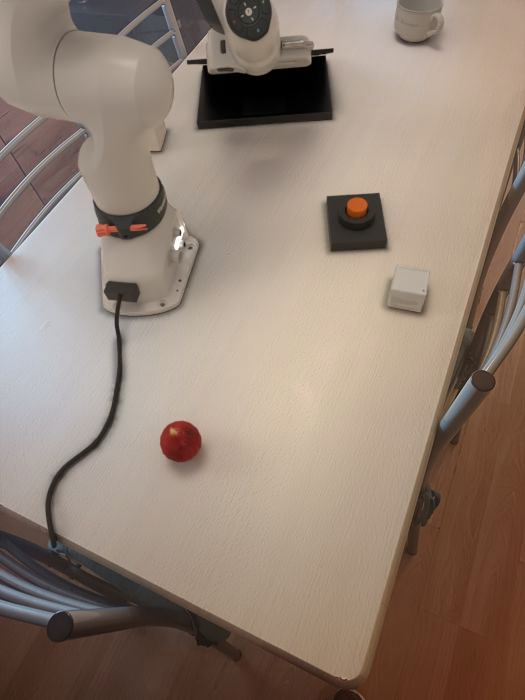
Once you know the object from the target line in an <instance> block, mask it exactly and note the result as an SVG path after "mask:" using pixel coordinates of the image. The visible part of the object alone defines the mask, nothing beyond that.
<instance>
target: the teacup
mask: <svg viewBox="0 0 525 700" xmlns="http://www.w3.org/2000/svg"><path fill="white" fill-rule="evenodd" d="M444 5H445V1H444V0H396V8H395V15H394V20H393V21H394V22H393V23H394V24H393V25H394V31H395V32H396V34H397V35H398V36H399V38H401V40H404V41H406V42H410V43H419V42H423V41H425V40H427V39H428V38H431V37H432V36H433V35H437V34H439V33H440V32H441V31H442V30H443V28H444V25H445V18H444V15H443V14H442V10H443V7H444Z"/></svg>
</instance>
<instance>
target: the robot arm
mask: <svg viewBox="0 0 525 700" xmlns="http://www.w3.org/2000/svg"><path fill="white" fill-rule="evenodd" d="M71 1H72V0H0V98H1V99H2V101H4V102H5V103H6V104H8V105H10V106H11V107H14V108H16V109H18V110H21V111H23V112H27V113H28V114H31V115H33V116H36V117H38V118H43V119H50V120H56V121H63V122H69V123H75V124H79V125H82V126H83V127H85V128H86V130H88V132H89V133H90V136H88V137H87V138H86V139H85V141H83V143H82V145H81V146H80V148H79V152H78V157H77V167H78V168H77V169H78V171H79V173H80V175H81V177H82V179H83V181H84V183H85V185H86V187H87V190H88V192H89V193H90V195H91V197H92V204H93V210H94V214H95V217H96V218H97V222H98V223H97V224H96V225H95V228H94V229H95V230H94V231H95V234H96V236H97V237H98V238H99V239H100V269H101V273H100V274H101V294H102V296H101V297H102V306H103V308H104V310H106V311H108V312H110V313H111V314H114V330H115V334H116V349H117V350H116V351H117V352H116V353H117V367H116V377H115V383H114V384H115V385H114V389H113V396H112V402H111V405H110V410H109V413H108V416H107V419H106V421H105V422H104V424H103V427H102V429H101V430H100V431H99V433H98V435H97V437H96V438H95V439H94V440H93V441H92V442H91V443H90V444H89V445H88V446H86V447H85V448H84V449H83V450H81V451H80V452H79V453H77V454H76V455H74V456H73V457H71V458H70V459H69V460H68V461H66V463H64V465H62V466H61V467H60V468H59V469H58V470H57V472H56V474H55V475H54V476H53V478H52V479H51V482H50V484H49V487H48V489H47V493H46V497H45V504H44V508H45V520H46V525H47V531H48V537H49V541H50V545H51V546H50V547H51V549H53V550H54V549H56V548H57V545H58V543H57V538H56V533H55V527H54V522H53V515H52V499H53V494H54V491H55V488H56V486H57V484H58V482H59V479H60V478H61V477H62V475H64V473H65V472H66V471H67V470H68V469H69V468H70V467H71V466H72V465H74V464H75V463H76V462H78V461H79V460H80V459H82V458H84V457H85V456H86V455H87V454H88V453H90V452H91V451H92V450H94V449H95V448H96V447H97V445H98V444H99V443H100V442H101V441H102V440H103V438H104V437H105V435H106V433H107V432H108V430H109V428H110V426H111V423H112V422H113V419H114V416H115V413H116V410H117V404H118V399H119V394H120V389H121V381H122V373H123V349H122V348H123V347H122V333H121V329H120V316H128V317H137V316H139V317H141V316H142V317H143V316H150V315H151V316H152V315H157V314H162V313H165V312H168V311H171V310H173V309H175V308H176V307H178V306H180V304H181V302H182V300H183V297H184V293H185V291H186V287H187V284H188V281H189V278H190V276H191V272H192V270H193V267H194V264H195V260H196V258H197V254H198V251H199V248H200V243H199V241H198V239H197V238H196V237H193V236H192V235H190V234H189V232H188V230H187V227H186V225H185V222H184V220H183V217H182V215H181V213H180V211H179V210H178V209H177V208H175V207H174V206H173V205H172V204H171V203H170V202H169V201H168V197H167V193H166V190H165V189H166V188H165V187H164V184H163V182H162V181H161V179H160V178H159V176H158V175H157V172H156V169H155V165H154V162H153V158H152V155H151V151H150V149H149V138H150V134H151V132H152V131H153V130H154V129H155V128H156V127H158V126H159V125H160V124H161V123H162V122H163V121H164V122H165V120H166V119H167V117H168V116H169V114H170V111H171V109H172V107H173V103H174V98H175V82H174V76H173V73H172V70H171V67H170V65H169V62H168V60H167V59H166V57H165V55H164V54H163V53H162V51H161V50H160V49H159V48H157V47H156V46H153V45H150V44H147V43H145V42H143V41H140V40H137V39H134V38H133V37H132V38H131V37H129V36H126V35H122V34H121V35H120V34H112V33H104V32H94V31H86V30H85V31H84V30H80V29H78V28H77V27H76V25H75V23H74V21H73V19H72V14H71V9H70V2H71ZM196 3H197V5H198V7H199V10H200V12H201V14H202V16H203V17H204V19H205V21H206V22H207V24H208V26H209V27H210V28H211V29H209V30H208V31H207V41H206V44H205V53H206V59H207V64H206V65H207V67H208V72H209V73H210V74H223V73H235V72H239V73H247V74H250V75H255V76H258V75H263V74H266V73H268V72H269V71H271V70H272V69H282V68H294V67H305V66H308V65H310V64H311V50H314V48H315V43H314V40H310V38H309V37H308V36H307V35H303V34H296V35H287V36H286V35H285V36H281V28H280V27H281V26H280V19H279V15H278V12H277V9H276V6H275V3H274V2H273V0H196Z"/></svg>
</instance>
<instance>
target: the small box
mask: <svg viewBox="0 0 525 700" xmlns="http://www.w3.org/2000/svg"><path fill="white" fill-rule="evenodd" d="M430 273H431V269H429V268H424V267H418V266H411V265H406V264H399V263H396V265H395V269H394V273H393V277H392V281H391V284H390V289H389V292H388V298H387V303H386V306H387V307H388V308H389V307H390V308H394V309H400V310H404V311H405V310H406V311H411V312H415V313H421V311H422V310H423V306H424V303H425V301H426V297H427V295H428V294H427V293H428V288H429V287H428V286H429V280H430Z"/></svg>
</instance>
